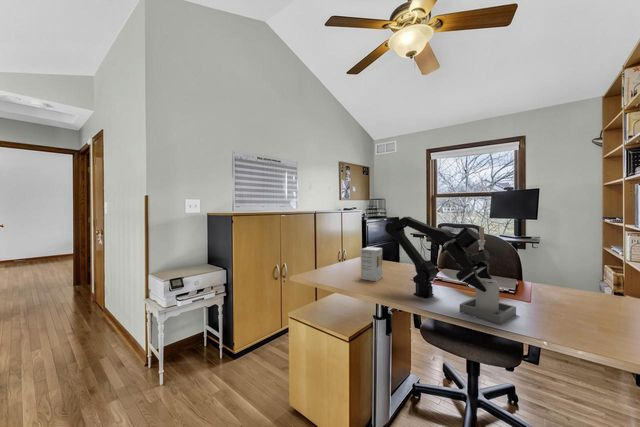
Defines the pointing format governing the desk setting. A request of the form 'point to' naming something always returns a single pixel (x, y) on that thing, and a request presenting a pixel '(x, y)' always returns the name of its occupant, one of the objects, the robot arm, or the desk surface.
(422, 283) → the robot arm
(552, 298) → the desk surface
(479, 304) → the can
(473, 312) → the well tray
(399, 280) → the desk surface
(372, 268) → the supplement box
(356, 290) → the desk surface
